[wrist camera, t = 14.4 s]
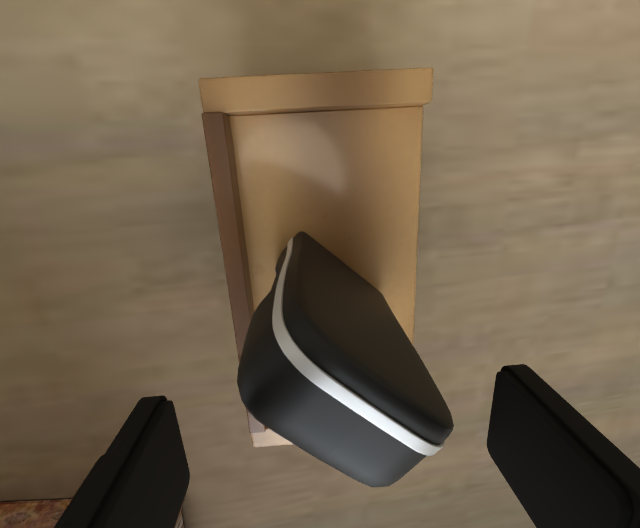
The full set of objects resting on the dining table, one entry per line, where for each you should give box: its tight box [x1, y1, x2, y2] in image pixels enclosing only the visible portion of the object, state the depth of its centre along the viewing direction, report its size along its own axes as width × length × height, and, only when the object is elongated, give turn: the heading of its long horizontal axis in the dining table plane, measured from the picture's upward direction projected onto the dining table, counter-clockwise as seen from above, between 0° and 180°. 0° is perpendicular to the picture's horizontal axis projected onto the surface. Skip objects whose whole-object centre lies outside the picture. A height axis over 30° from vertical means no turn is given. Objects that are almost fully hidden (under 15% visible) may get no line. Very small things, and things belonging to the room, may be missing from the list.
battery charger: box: [237, 231, 454, 487], centre depth 14 cm, size 7×4×11 cm, turn 50°
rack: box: [199, 67, 433, 447], centre depth 24 cm, size 11×22×12 cm, turn 3°
